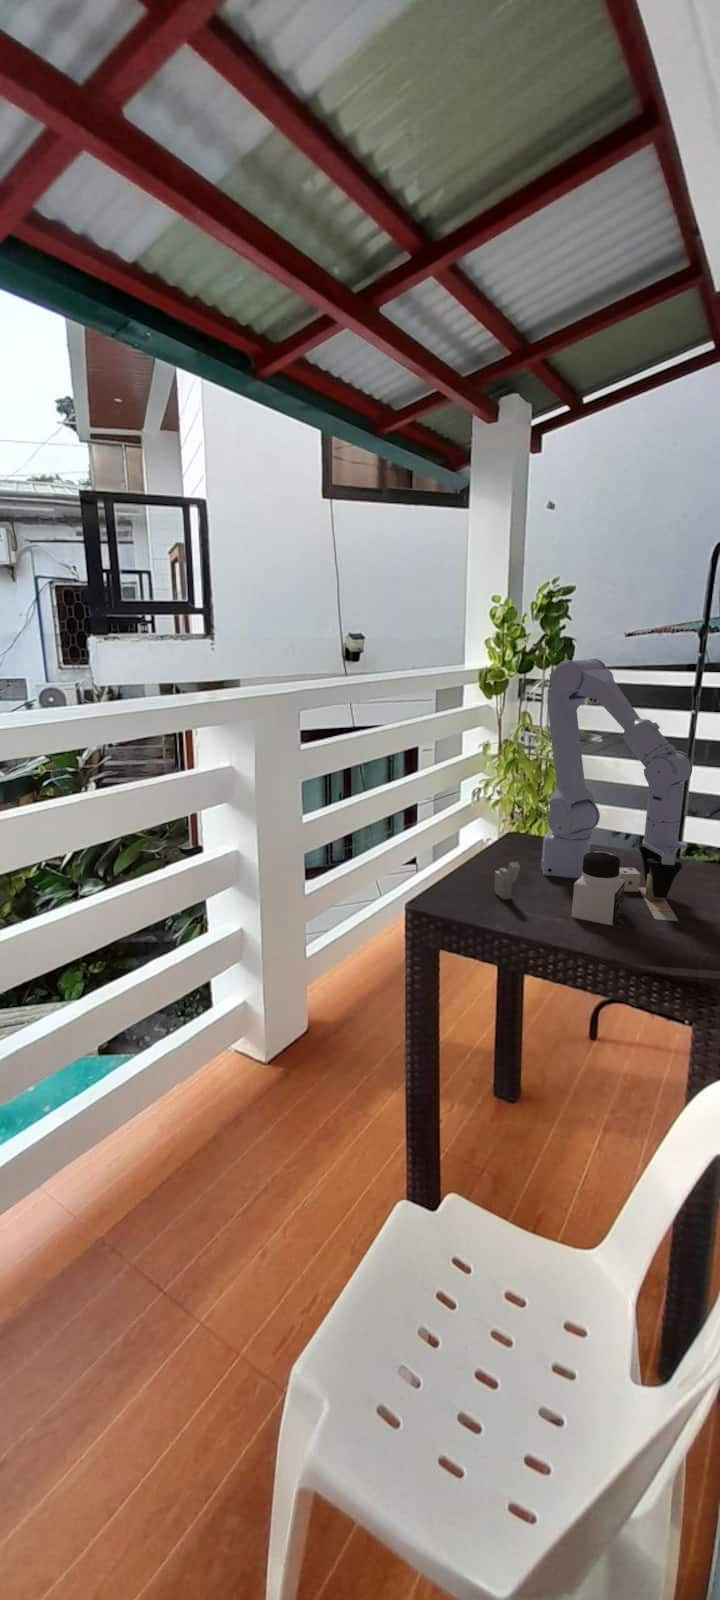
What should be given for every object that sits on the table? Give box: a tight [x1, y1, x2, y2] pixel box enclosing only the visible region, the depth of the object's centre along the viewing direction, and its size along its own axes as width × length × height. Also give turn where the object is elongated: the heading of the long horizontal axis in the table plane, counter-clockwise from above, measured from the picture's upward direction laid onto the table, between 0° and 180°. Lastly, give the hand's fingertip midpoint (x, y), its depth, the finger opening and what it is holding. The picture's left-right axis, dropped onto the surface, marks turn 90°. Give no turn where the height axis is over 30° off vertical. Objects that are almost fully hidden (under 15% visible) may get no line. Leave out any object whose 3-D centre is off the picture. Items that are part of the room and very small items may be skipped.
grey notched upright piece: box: [493, 861, 521, 900], centre depth 133 cm, size 7×2×8 cm, turn 14°
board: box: [639, 886, 679, 922], centre depth 129 cm, size 8×19×1 cm, turn 169°
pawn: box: [645, 870, 666, 902], centre depth 130 cm, size 3×3×7 cm
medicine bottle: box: [571, 850, 625, 926], centre depth 122 cm, size 7×7×12 cm
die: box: [619, 867, 641, 893], centre depth 136 cm, size 4×4×4 cm
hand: (655, 889), depth 130 cm, fingers open, 7 cm apart
